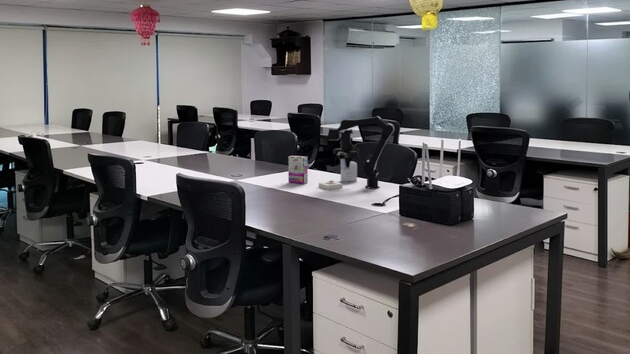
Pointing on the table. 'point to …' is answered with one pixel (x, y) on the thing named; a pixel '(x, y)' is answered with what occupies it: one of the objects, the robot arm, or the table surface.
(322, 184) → the socket plate
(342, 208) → the table surface
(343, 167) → the plug
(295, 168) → the candy bar box
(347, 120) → the robot arm
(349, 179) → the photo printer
